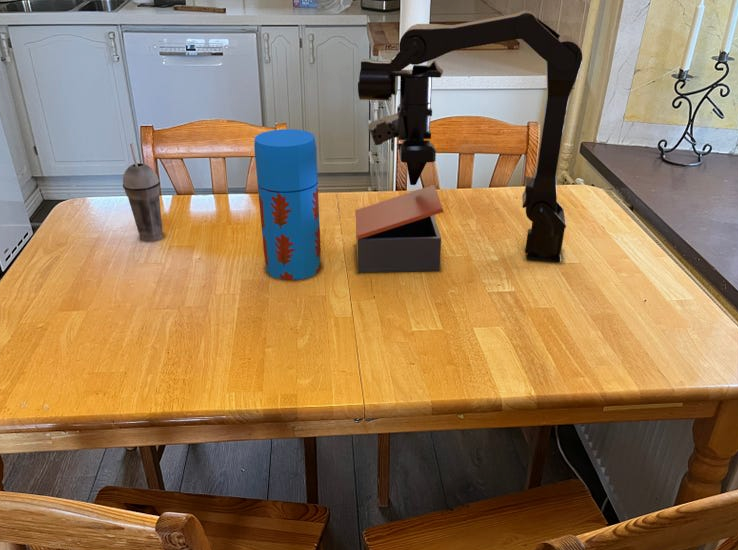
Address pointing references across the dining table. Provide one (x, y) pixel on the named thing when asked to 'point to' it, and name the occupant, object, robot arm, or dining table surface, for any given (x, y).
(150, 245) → the dining table surface
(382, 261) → the box
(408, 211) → the lid
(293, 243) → the thermos
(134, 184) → the beverage cup
